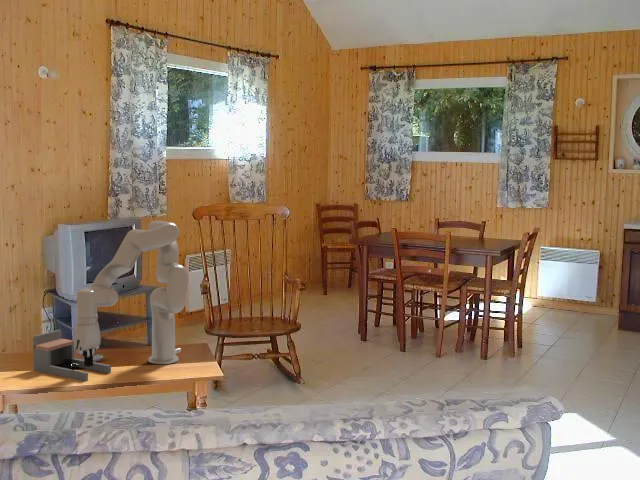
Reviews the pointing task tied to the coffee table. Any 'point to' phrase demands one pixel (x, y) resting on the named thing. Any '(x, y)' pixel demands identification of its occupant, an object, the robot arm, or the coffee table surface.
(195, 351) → the coffee table surface
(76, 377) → the grey forked stand
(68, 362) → the black block
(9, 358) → the coffee table surface
